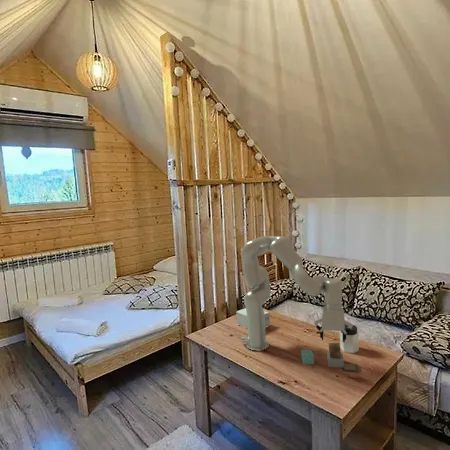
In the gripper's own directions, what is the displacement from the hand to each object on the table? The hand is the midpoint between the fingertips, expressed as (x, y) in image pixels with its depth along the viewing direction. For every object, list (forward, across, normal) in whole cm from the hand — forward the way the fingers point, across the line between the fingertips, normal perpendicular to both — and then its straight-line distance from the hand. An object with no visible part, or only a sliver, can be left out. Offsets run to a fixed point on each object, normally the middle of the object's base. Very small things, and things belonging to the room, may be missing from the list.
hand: (332, 339), depth 156 cm
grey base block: (+12, +1, 0) cm, 12 cm away
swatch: (+11, +7, -3) cm, 14 cm away
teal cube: (+12, -12, 0) cm, 17 cm away
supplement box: (+14, -46, +38) cm, 61 cm away
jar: (+12, +9, +15) cm, 21 cm away
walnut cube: (+7, +1, 0) cm, 8 cm away
